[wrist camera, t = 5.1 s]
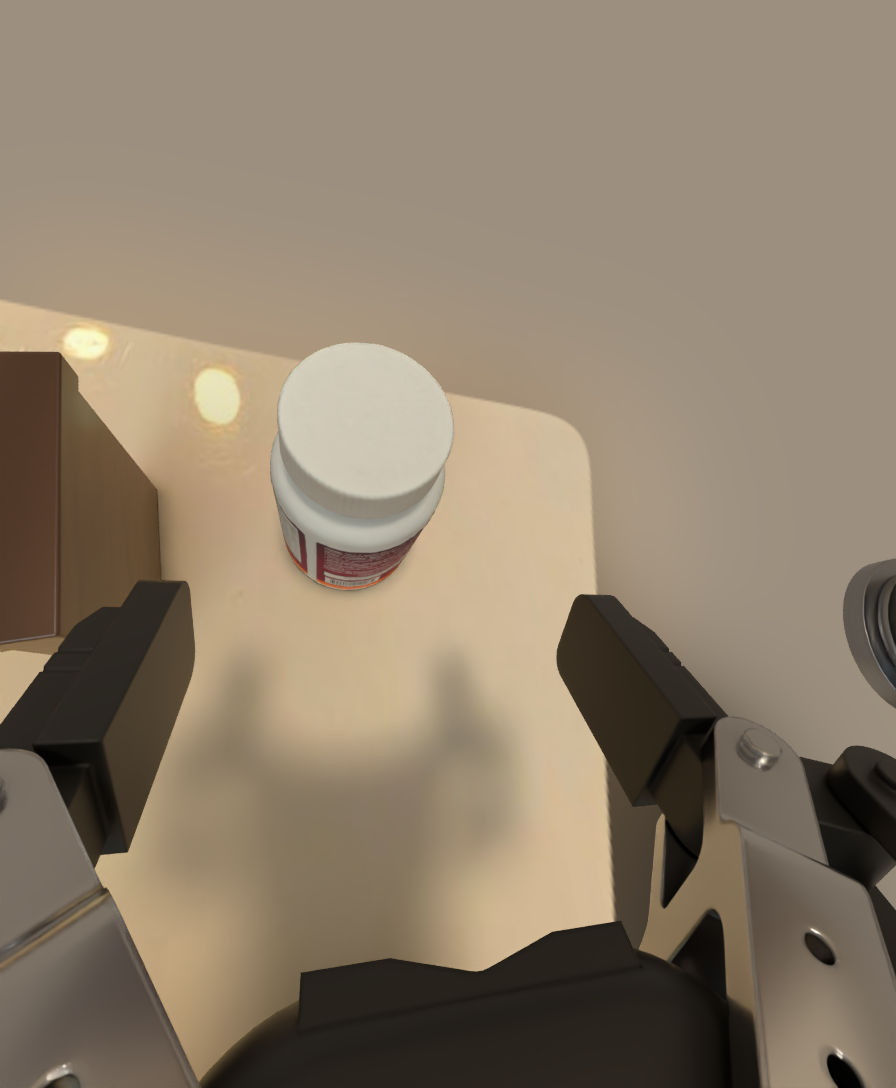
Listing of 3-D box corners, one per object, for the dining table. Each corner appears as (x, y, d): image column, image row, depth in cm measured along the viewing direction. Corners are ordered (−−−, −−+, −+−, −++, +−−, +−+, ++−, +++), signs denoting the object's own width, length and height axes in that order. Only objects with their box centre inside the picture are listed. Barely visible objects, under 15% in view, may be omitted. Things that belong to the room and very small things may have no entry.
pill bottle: (430, 525, 26) (510, 412, 15) (359, 617, 23) (395, 560, 13) (337, 454, 25) (352, 290, 15) (255, 541, 23) (206, 418, 13)
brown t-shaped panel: (164, 488, 23) (60, 350, 13) (172, 659, 21) (58, 636, 12) (120, 491, 22) (-20, 350, 13) (125, 667, 20) (-35, 649, 11)
